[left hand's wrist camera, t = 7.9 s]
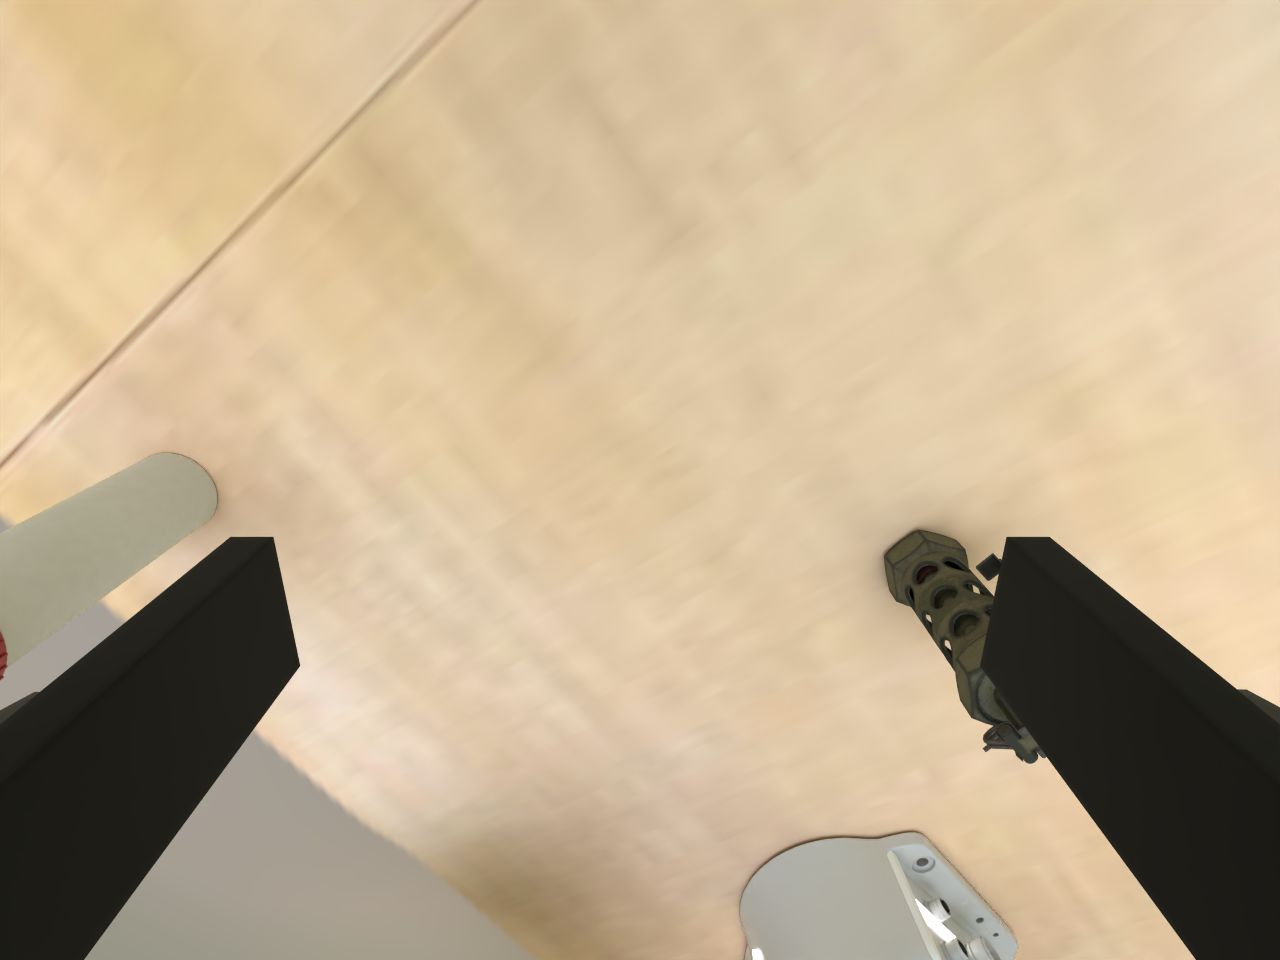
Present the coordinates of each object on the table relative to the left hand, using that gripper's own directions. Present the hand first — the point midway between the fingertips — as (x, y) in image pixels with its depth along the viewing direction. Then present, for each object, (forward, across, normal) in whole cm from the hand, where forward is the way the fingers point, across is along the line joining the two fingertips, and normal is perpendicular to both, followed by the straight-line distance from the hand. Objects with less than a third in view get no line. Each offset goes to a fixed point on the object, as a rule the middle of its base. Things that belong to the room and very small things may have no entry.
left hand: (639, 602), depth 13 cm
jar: (+28, -28, -9) cm, 40 cm away
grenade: (+28, +19, -14) cm, 36 cm away
